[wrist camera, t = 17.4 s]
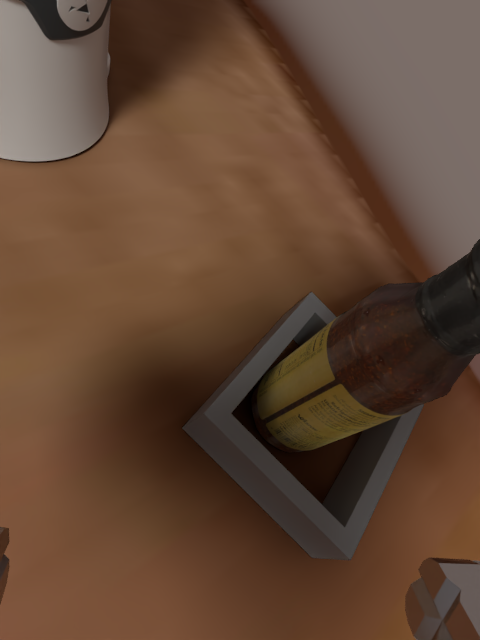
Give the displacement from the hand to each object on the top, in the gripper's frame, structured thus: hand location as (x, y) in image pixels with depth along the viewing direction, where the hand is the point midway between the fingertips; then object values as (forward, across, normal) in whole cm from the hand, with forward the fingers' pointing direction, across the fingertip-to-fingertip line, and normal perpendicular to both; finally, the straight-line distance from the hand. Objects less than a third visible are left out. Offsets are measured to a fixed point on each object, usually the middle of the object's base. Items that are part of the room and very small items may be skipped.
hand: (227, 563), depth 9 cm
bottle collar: (+20, -8, +10) cm, 24 cm away
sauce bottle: (+20, -7, +10) cm, 24 cm away
